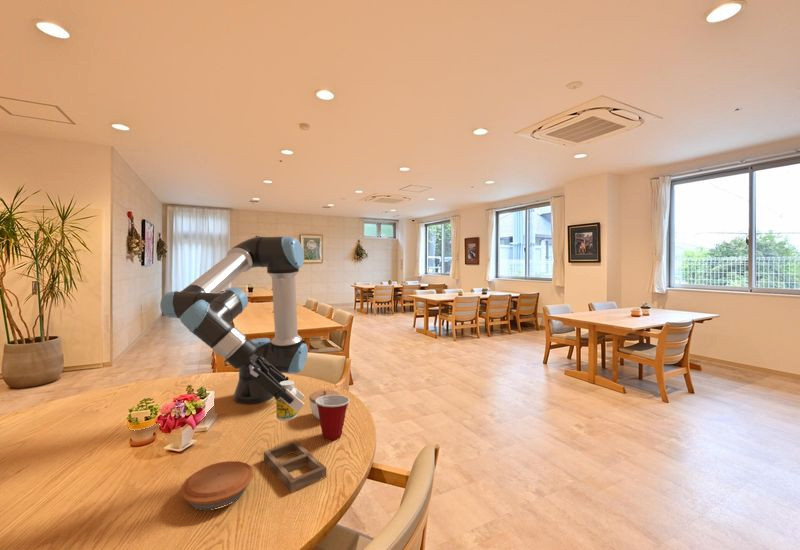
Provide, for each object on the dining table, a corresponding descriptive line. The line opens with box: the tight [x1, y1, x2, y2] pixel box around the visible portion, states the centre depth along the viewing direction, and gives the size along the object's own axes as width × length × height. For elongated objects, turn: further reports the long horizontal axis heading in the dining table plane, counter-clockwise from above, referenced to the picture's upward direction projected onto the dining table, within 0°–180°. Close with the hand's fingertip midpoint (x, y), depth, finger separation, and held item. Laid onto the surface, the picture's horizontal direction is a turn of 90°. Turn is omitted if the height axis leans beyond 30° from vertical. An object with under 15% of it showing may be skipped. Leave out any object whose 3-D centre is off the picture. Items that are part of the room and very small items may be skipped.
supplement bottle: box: [275, 379, 298, 422], centre depth 97 cm, size 5×5×10 cm
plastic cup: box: [315, 394, 351, 441], centre depth 113 cm, size 11×11×12 cm
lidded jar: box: [308, 389, 341, 421], centre depth 127 cm, size 11×11×9 cm
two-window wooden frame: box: [263, 440, 327, 493], centre depth 95 cm, size 18×10×2 cm, turn 41°
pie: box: [179, 460, 255, 511], centre depth 84 cm, size 15×16×5 cm
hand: (300, 403), depth 99 cm, fingers closed on supplement bottle, 5 cm apart
